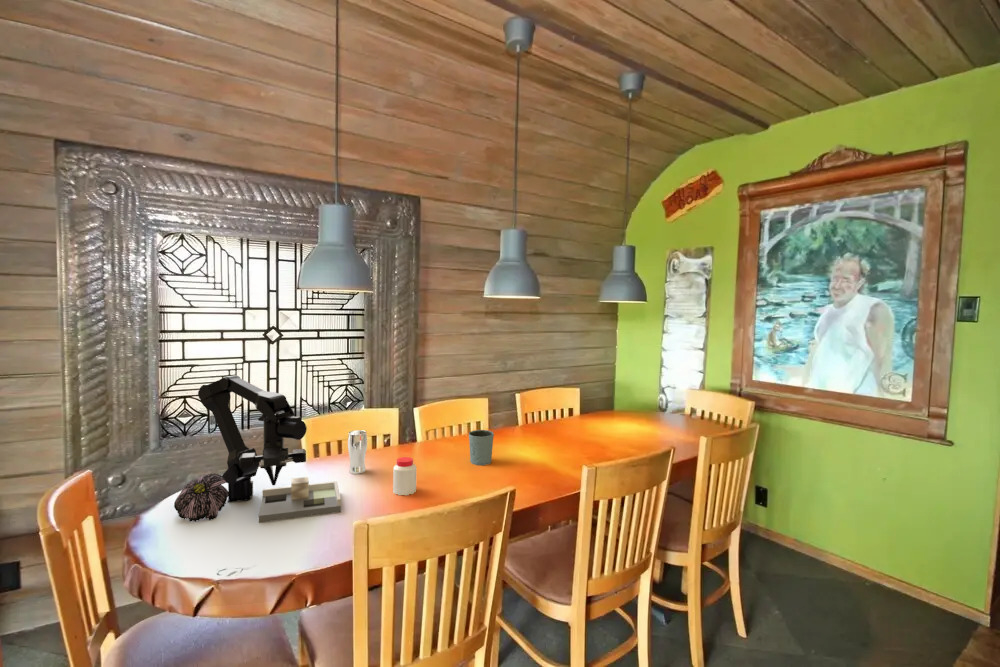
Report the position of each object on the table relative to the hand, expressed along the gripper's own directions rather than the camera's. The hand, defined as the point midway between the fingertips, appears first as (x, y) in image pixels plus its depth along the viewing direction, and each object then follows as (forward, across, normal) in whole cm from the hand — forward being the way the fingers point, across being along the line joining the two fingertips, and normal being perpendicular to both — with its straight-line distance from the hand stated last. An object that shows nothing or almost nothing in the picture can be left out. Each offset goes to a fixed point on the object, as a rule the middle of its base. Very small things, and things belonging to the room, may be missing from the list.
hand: (273, 484), depth 154 cm
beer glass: (+7, +28, +23) cm, 37 cm away
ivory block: (+4, +8, 0) cm, 9 cm away
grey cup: (+6, +76, +19) cm, 78 cm away
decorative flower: (+7, -19, 0) cm, 21 cm away
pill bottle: (+6, +41, -2) cm, 41 cm away
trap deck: (+6, +8, -4) cm, 11 cm away
